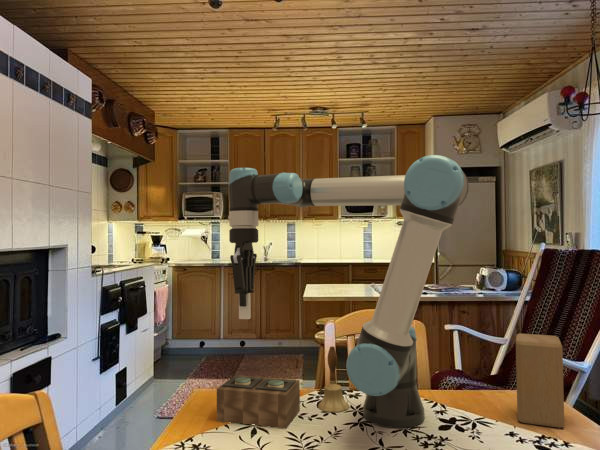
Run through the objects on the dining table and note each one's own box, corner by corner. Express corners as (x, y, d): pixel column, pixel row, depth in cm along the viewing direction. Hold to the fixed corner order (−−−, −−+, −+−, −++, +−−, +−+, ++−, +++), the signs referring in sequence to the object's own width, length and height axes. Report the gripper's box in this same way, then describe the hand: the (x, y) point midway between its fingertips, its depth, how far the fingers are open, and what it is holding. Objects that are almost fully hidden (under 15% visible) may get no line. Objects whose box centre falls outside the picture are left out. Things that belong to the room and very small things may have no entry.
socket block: (299, 410, 123) (299, 378, 123) (286, 428, 111) (285, 393, 112) (236, 404, 128) (235, 373, 128) (216, 421, 116) (216, 387, 116)
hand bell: (313, 410, 123) (313, 349, 124) (324, 400, 131) (323, 342, 132) (343, 414, 120) (343, 351, 121) (352, 403, 128) (352, 344, 128)
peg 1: (253, 410, 122) (252, 377, 122) (247, 415, 118) (247, 382, 119) (238, 408, 123) (238, 376, 124) (232, 414, 119) (232, 381, 120)
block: (561, 415, 118) (559, 335, 119) (564, 430, 109) (562, 343, 110) (517, 409, 122) (515, 332, 123) (517, 423, 113) (515, 340, 114)
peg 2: (286, 413, 120) (285, 380, 120) (281, 419, 116) (281, 385, 116) (271, 411, 121) (271, 379, 121) (266, 417, 117) (265, 383, 117)
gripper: (239, 228, 130) (240, 314, 129) (220, 227, 117) (221, 322, 117) (265, 228, 128) (266, 314, 127) (248, 227, 115) (249, 323, 115)
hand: (244, 318), depth 122 cm, fingers closed
